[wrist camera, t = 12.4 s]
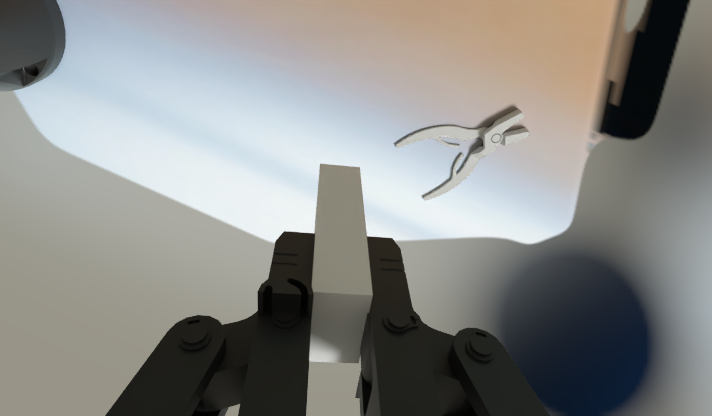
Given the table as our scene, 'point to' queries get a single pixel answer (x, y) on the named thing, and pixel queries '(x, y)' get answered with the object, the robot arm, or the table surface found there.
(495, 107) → the table surface
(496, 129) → the pliers
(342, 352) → the robot arm
